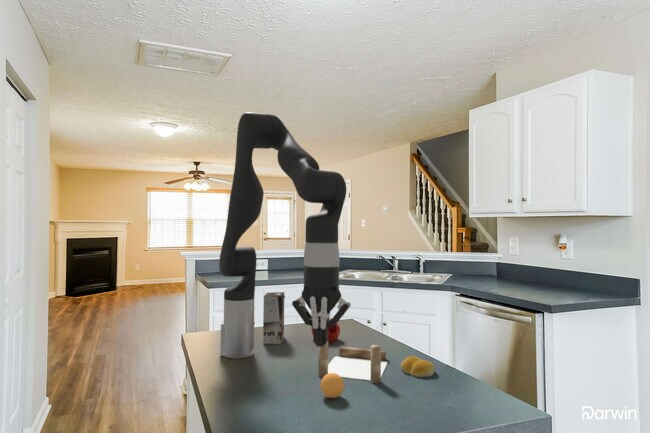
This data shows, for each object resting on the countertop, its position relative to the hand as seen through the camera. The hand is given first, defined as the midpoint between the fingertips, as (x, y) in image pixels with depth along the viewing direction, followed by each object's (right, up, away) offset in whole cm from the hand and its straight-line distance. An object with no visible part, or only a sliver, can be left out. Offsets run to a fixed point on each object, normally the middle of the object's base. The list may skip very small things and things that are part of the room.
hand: (320, 345), depth 89 cm
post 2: (+14, -15, +19) cm, 28 cm away
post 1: (0, -15, +23) cm, 28 cm away
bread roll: (+26, -16, +27) cm, 41 cm away
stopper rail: (+12, -16, +38) cm, 43 cm away
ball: (+3, -12, +9) cm, 15 cm away
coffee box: (-17, -16, +56) cm, 61 cm away
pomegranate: (+1, -16, +57) cm, 59 cm away
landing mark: (+9, -15, +29) cm, 34 cm away
